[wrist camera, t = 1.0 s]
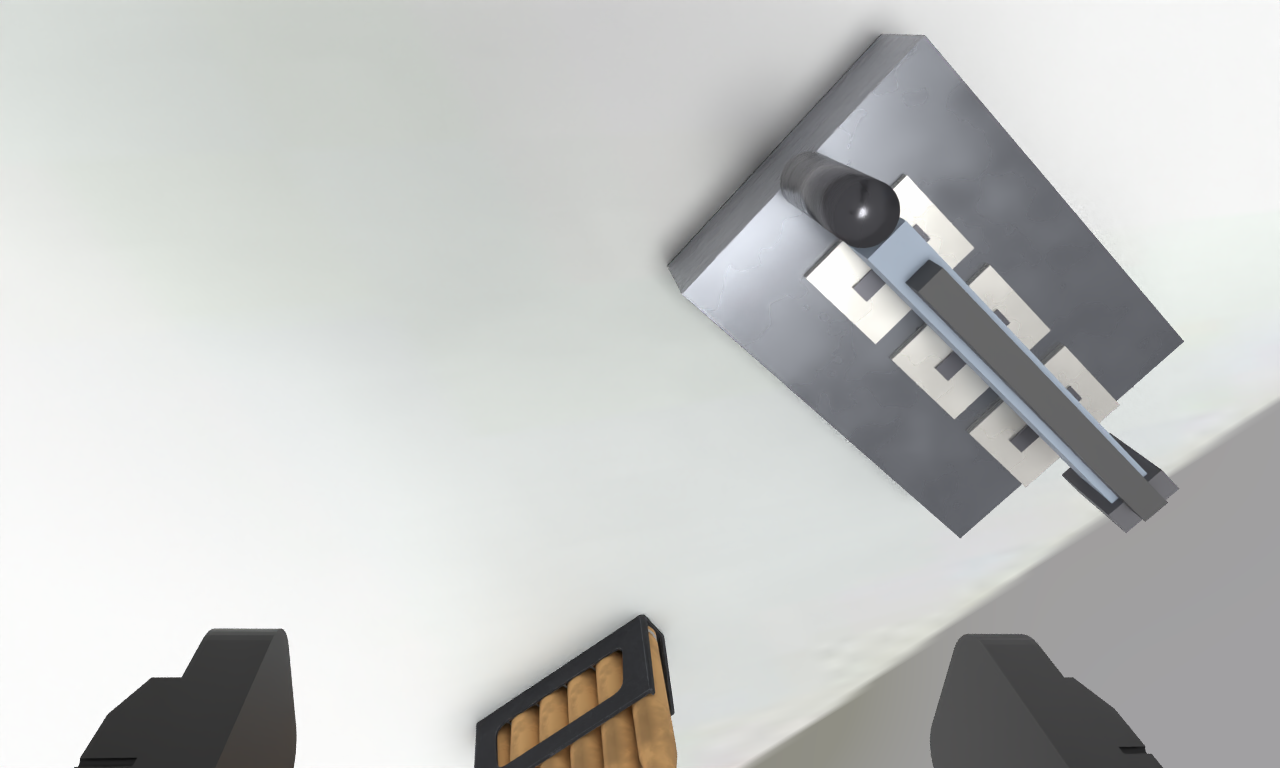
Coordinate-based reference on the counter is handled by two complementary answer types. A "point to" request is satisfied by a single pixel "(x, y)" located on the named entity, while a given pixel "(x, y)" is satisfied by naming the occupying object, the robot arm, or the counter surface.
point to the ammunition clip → (590, 711)
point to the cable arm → (1020, 379)
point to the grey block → (879, 319)
